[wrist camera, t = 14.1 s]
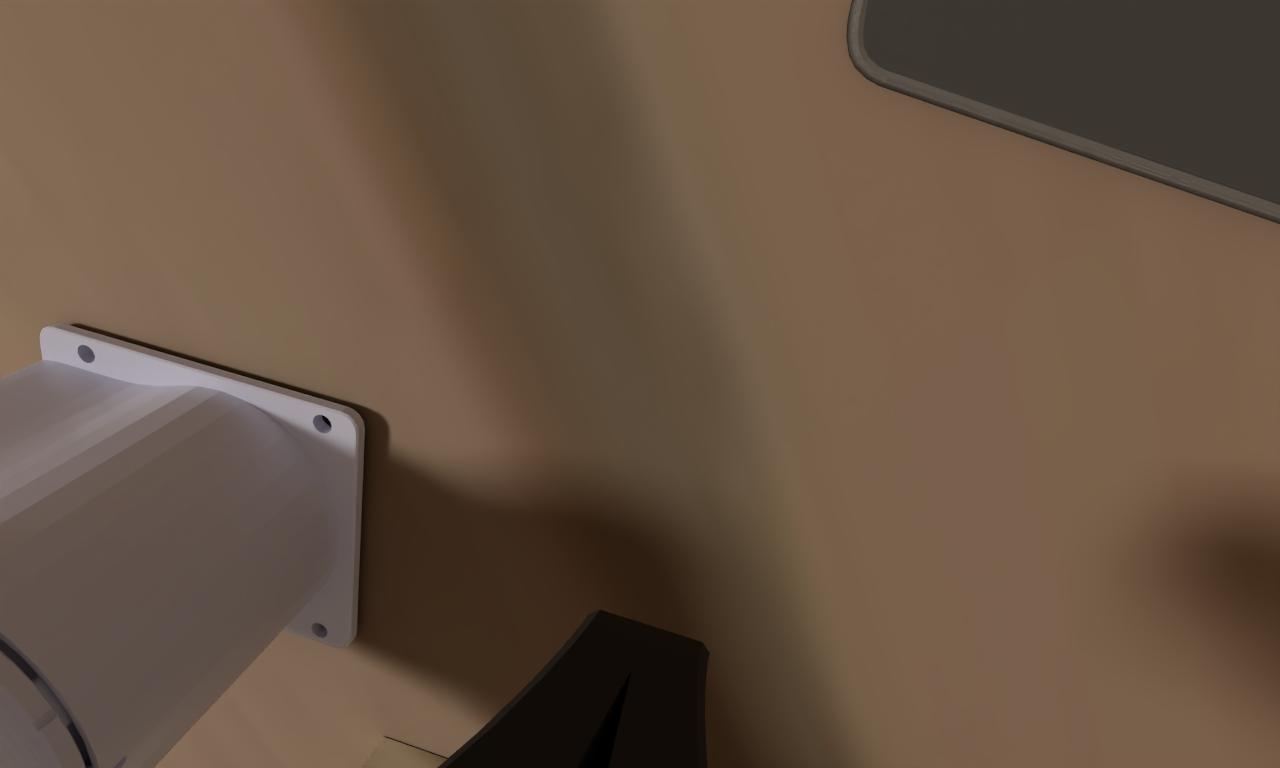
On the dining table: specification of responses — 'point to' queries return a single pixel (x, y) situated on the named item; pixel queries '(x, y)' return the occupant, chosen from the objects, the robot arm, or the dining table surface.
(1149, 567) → the dining table surface
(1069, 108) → the smartphone
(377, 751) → the compartment tray
